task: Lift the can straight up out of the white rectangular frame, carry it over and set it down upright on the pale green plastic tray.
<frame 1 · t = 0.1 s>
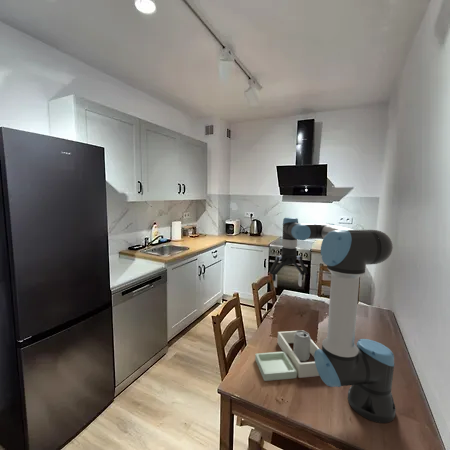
hand: (287, 286, 138), 28 cm above the table, fingers open, 13 cm apart
can: (301, 357, 122), resting in white rectangular frame
tray: (274, 368, 114), on the table
white rectangular frame: (301, 357, 122), on the table
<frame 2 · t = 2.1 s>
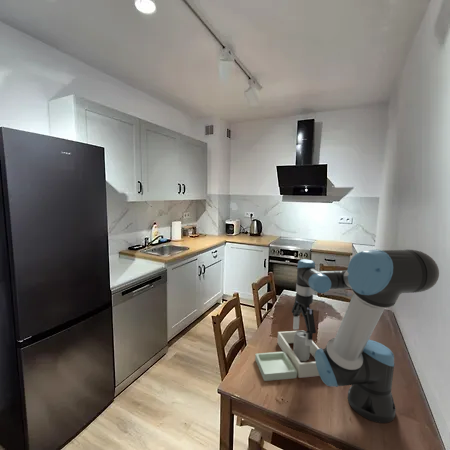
hand: (301, 336, 122), 10 cm above the table, fingers open, 13 cm apart
nothing on the table moved.
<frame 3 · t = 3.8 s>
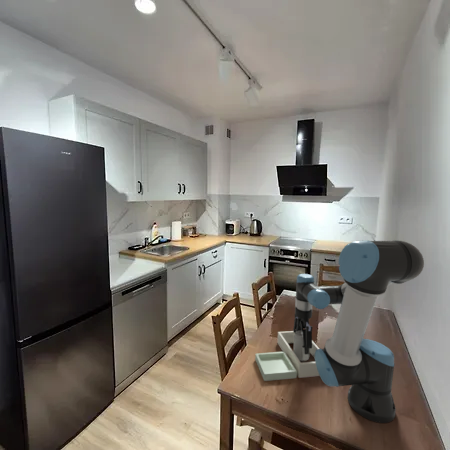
hand: (301, 354, 122), 2 cm above the table, fingers closed on can, 7 cm apart
can: (301, 357, 122), resting in white rectangular frame, touching gripper
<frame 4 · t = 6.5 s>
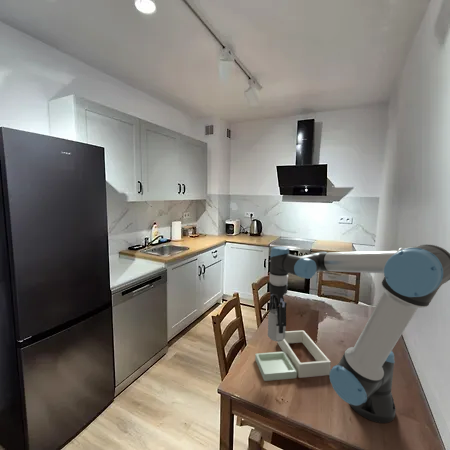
hand: (276, 334, 112), 16 cm above the table, fingers closed on can, 7 cm apart
can: (276, 338, 113), point 14 cm above the table, touching gripper
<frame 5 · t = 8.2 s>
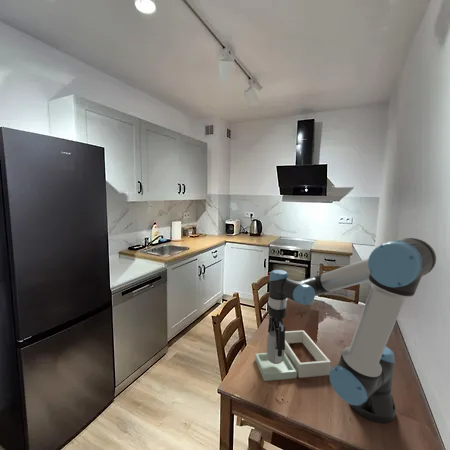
hand: (275, 356, 114), 6 cm above the table, fingers closed on can, 7 cm apart
can: (275, 360, 114), point 4 cm above the table, touching gripper
when the fingers open (4 cm above the table, at t = 9.4 s): can drops 1 cm, resting on tray.
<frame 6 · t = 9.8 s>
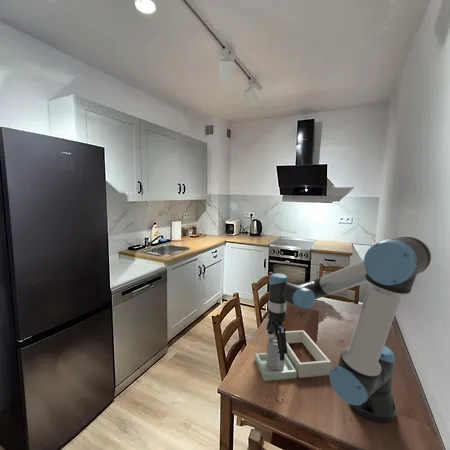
hand: (275, 356, 114), 6 cm above the table, fingers open, 13 cm apart
can: (275, 367, 114), point 1 cm above the table, touching tray
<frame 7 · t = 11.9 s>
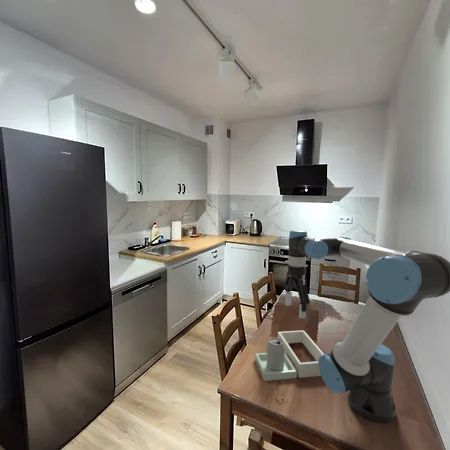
hand: (294, 311, 117), 24 cm above the table, fingers open, 13 cm apart
nothing on the table moved.
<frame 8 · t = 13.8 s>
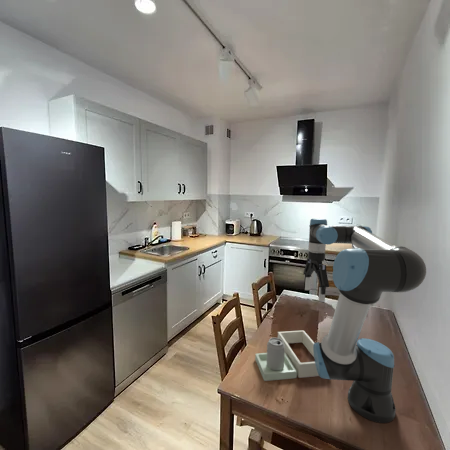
hand: (314, 295, 124), 29 cm above the table, fingers open, 13 cm apart
nothing on the table moved.
at the end: can inside the target area on the tray (0.3 cm from its centre), point 0.8 cm above the tray's base; can tilted 0°; the gripper is holding nothing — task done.
